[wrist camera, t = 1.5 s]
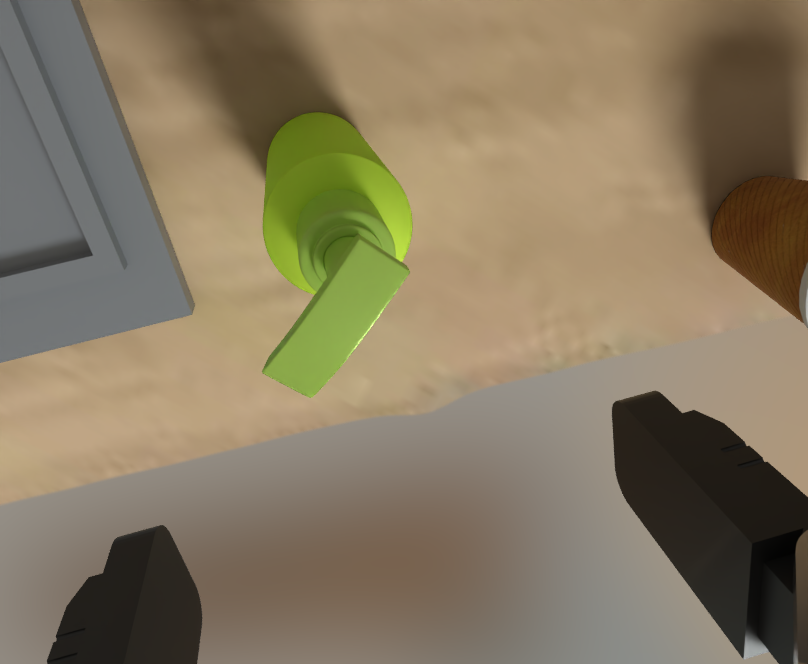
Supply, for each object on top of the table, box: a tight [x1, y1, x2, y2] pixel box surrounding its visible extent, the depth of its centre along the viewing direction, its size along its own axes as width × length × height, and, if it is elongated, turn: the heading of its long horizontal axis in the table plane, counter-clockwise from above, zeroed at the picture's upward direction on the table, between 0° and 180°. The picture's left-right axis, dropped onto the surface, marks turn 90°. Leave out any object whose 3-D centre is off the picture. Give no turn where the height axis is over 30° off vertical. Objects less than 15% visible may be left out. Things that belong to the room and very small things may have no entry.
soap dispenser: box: [262, 112, 412, 398], centre depth 28 cm, size 6×7×20 cm
